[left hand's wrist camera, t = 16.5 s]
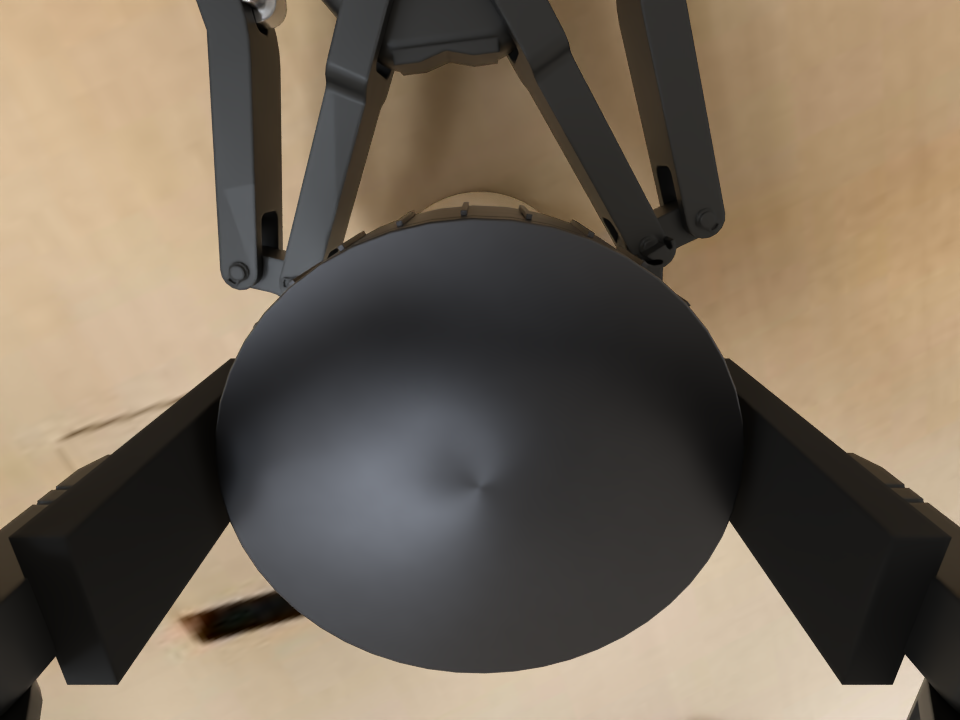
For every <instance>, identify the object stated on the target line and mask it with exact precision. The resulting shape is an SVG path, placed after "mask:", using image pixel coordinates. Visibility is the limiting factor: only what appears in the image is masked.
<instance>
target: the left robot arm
mask: <svg viewBox="0 0 960 720" xmlns="http://www.w3.org/2000/svg"><path fill="white" fill-rule="evenodd" d="M234 361H235V359H230V360H228V361H227V362H226V363H225V364H223V365H222V366H221V367H220V368H218V369H217V370H216V371H215V372H213V373H212V374H211V375H210V376H208V377H207V378H206V379H205V380H203V381H202V382H201V383H200V384H198V385H197V386H196V387H195V388H193V389H192V390H191V391H190V392H188V393H187V394H186V395H185V396H184V397H182V398H181V399H180V400H179V401H177V402H176V403H175V404H174V405H172V406H171V407H170V408H169V409H167V410H166V411H165V412H164V413H162V414H161V415H160V416H159V417H157V418H156V419H155V420H154V421H152V422H151V423H150V424H149V425H147V426H146V427H145V428H144V429H142V430H141V431H140V432H139V433H138V434H136V435H135V436H134V437H133V438H131V439H130V440H129V441H128V442H126V443H125V444H124V445H123V446H121V447H120V448H119V449H118V450H116V451H115V452H114V453H113V454H111V455H106V456H104V457H102V458H100V459H98V460H96V461H94V462H92V463H90V464H88V465H86V466H84V467H82V468H80V469H78V470H77V471H76V472H74V473H73V474H72V475H70V476H69V477H68V478H67V479H65V480H64V481H63V482H61V483H60V484H59V485H58V486H56V490H51V491H50V492H49V493H47V494H46V495H45V496H43V497H42V498H41V499H40V500H38V503H37V505H32V506H30V507H29V508H28V509H27V510H25V511H24V512H23V513H21V514H20V515H19V516H18V517H16V518H15V519H14V520H12V521H11V522H10V523H9V524H7V525H6V526H5V527H3V528H2V529H1V530H0V720H40V715H41V708H42V695H41V690H40V687H39V685H38V683H37V680H36V679H37V678H38V677H39V675H40V674H41V673H42V672H43V671H44V669H45V668H46V667H47V666H48V665H49V664H50V662H51V661H52V660H53V659H54V658H55V657H56V658H57V660H58V663H59V665H60V668H61V670H62V673H63V675H64V678H65V680H66V683H67V685H118V684H119V682H120V681H121V679H122V678H123V676H124V675H125V674H126V672H127V671H128V669H129V668H130V666H131V665H132V663H133V662H134V660H135V659H136V658H137V656H138V655H139V653H140V652H141V650H142V649H143V647H144V646H145V644H146V643H147V642H148V640H149V639H150V637H151V636H152V634H153V633H154V631H155V630H156V628H157V627H158V626H159V624H160V623H161V621H162V620H163V618H164V617H165V615H166V614H167V612H168V611H169V610H170V608H171V607H172V605H173V604H174V602H175V601H176V599H177V598H178V596H179V595H180V594H181V592H182V591H183V589H184V588H185V586H186V585H187V583H188V582H189V580H190V579H191V578H192V576H193V575H194V573H195V572H196V570H197V569H198V567H199V566H200V564H201V563H202V562H203V560H204V559H205V557H206V556H207V554H208V553H209V551H210V550H211V548H212V547H213V546H214V544H215V543H216V541H217V540H218V538H219V537H220V535H221V534H222V532H223V531H224V530H225V528H226V527H227V525H228V524H229V522H230V520H229V517H228V514H227V511H226V508H225V505H224V502H223V498H222V495H221V492H220V486H219V480H218V474H217V468H216V440H215V432H216V425H217V418H218V412H219V405H220V400H221V397H222V393H223V390H224V387H225V384H226V381H227V377H228V374H229V371H230V369H231V367H232V365H233V363H234ZM725 362H726V364H727V367H728V370H729V372H730V375H731V377H732V380H733V383H734V385H735V388H736V391H737V396H738V401H739V406H740V410H741V415H742V420H743V438H744V458H743V467H742V477H741V483H740V487H739V491H738V495H737V499H736V503H735V506H734V510H733V512H732V515H731V517H730V520H729V521H730V522H731V524H732V525H733V527H734V528H735V530H736V531H737V532H738V534H739V535H740V537H741V538H742V540H743V541H744V543H745V544H746V546H747V547H748V548H749V550H750V551H751V553H752V554H753V556H754V557H755V559H756V560H757V562H758V563H759V564H760V566H761V567H762V569H763V570H764V572H765V573H766V575H767V576H768V578H769V579H770V580H771V582H772V583H773V585H774V586H775V588H776V589H777V591H778V592H779V594H780V595H781V596H782V598H783V599H784V601H785V602H786V604H787V605H788V607H789V608H790V610H791V611H792V612H793V614H794V615H795V617H796V618H797V620H798V621H799V623H800V624H801V626H802V627H803V628H804V630H805V631H806V633H807V634H808V636H809V637H810V639H811V640H812V642H813V643H814V644H815V646H816V647H817V649H818V650H819V652H820V653H821V655H822V656H823V657H824V659H825V660H826V662H827V663H828V665H829V666H830V668H831V669H832V671H833V672H834V673H835V675H836V676H837V678H838V679H839V681H840V682H841V684H842V685H893V683H894V680H895V678H896V675H897V673H898V670H899V668H900V665H901V663H902V660H903V658H904V655H906V656H907V657H908V658H909V659H910V661H911V662H912V663H913V664H914V665H915V666H916V668H917V669H918V670H919V671H920V672H921V673H922V675H923V676H924V677H925V678H924V680H923V683H922V685H921V687H920V690H919V692H918V694H917V697H916V699H915V701H914V704H913V706H912V708H911V711H910V713H909V715H908V718H907V720H960V527H959V526H958V525H956V524H955V523H954V522H952V521H951V520H950V519H949V518H947V517H946V516H945V515H943V514H942V513H941V512H939V511H938V510H937V509H936V508H934V507H933V506H932V505H930V504H929V503H924V502H923V498H921V497H920V496H919V495H917V494H916V493H915V492H913V491H912V490H911V489H910V488H905V486H904V484H903V483H902V482H900V481H899V480H898V479H897V478H895V477H894V476H893V475H891V474H890V473H889V472H887V471H886V470H885V469H884V468H882V467H880V466H878V465H876V464H874V463H872V462H870V461H868V460H866V459H864V458H862V457H860V456H858V455H856V454H854V453H846V452H845V451H844V450H842V449H841V448H840V447H839V446H837V445H836V444H835V443H834V442H832V441H831V440H830V439H829V438H827V437H826V436H825V435H824V434H823V433H821V432H820V431H819V430H818V429H816V428H815V427H814V426H813V425H811V424H810V423H809V422H808V421H806V420H805V419H804V418H803V417H801V416H800V415H799V414H798V413H796V412H795V411H794V410H793V409H791V408H790V407H789V406H788V405H786V404H785V403H784V402H783V401H781V400H780V399H779V398H778V397H776V396H775V395H774V394H773V393H772V392H770V391H769V390H768V389H767V388H765V387H764V386H763V385H762V384H760V383H759V382H758V381H757V380H755V379H754V378H753V377H752V376H750V375H749V374H748V373H747V372H745V371H744V370H743V369H742V368H740V367H739V366H738V365H737V364H735V363H734V362H733V361H732V360H730V359H725Z"/></svg>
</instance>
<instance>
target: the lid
mask: <svg viewBox="0 0 960 720" xmlns="http://www.w3.org/2000/svg"><path fill="white" fill-rule="evenodd" d="M594 234H595V233H593V232H592V231H590V230H589V229H587V228H586V227H584V226H583V225H581V224H580V223H578V222H577V221H574V220H572V221H571V223H569V222H566V221H563V220H560V219H557V218H554V217H550V216H547V215H544V214H541V213H538V212H533V211H529V210H528V209H527V208H526V207H525V206H524V205H519V208H518V209H516V208H510V207H501V206H477V205H472V206H469V202H464V203H463V205H462V206H461V207H451V208H440V209H436V210H432V211H428V212H423V213H419V214H415V212H414V211H410V212H408V213H407V214H406V215H404V216H403V217H402V218H400V219H399V220H397V221H394V222H392V223H389V224H387V225H384V226H382V227H379V228H377V229H375V230H374V231H372V232H370V233H368V234H365V232H364V231H362V232H361V233H359V234H357V235H356V236H354V237H352V238H351V239H349V240H348V241H346V242H344V243H343V244H341V245H340V246H338V247H337V248H338V249H339V251H338V252H337V253H335V254H334V255H332V256H331V257H329V258H328V259H326V260H325V261H323V262H322V261H321V262H319V263H318V264H316V265H315V266H313V267H311V268H310V269H308V270H307V271H305V272H304V273H302V274H301V275H299V276H298V277H296V278H294V279H293V280H292V281H291V282H290V283H289V284H290V285H291V286H290V287H289V288H288V289H287V290H286V291H285V292H284V293H283V294H282V295H281V296H280V297H279V298H278V299H277V300H276V301H275V302H274V303H273V304H272V305H271V306H270V308H269V309H268V310H267V311H266V312H265V313H264V314H263V315H262V317H261V318H260V320H259V321H258V322H257V323H255V325H254V327H253V330H252V331H251V332H250V334H249V335H248V337H247V338H246V339H245V341H244V343H243V345H242V347H241V349H240V351H239V353H238V355H237V357H236V359H235V361H234V363H233V365H232V367H231V369H230V371H229V374H228V377H227V381H226V384H225V387H224V390H223V393H222V397H221V400H220V405H219V412H218V418H217V425H216V432H215V440H216V468H217V474H218V480H219V486H220V492H221V495H222V498H223V502H224V505H225V508H226V511H227V514H228V517H229V520H230V522H231V524H232V526H233V528H234V531H235V533H236V535H237V537H238V539H239V541H240V543H241V545H242V547H243V548H244V550H245V551H246V553H247V554H248V556H249V557H250V559H251V560H252V562H253V563H254V565H255V566H256V568H257V569H258V571H259V572H260V573H261V574H262V575H263V577H264V578H265V579H266V580H267V581H268V582H269V584H270V585H271V586H272V587H273V588H274V589H275V591H276V592H277V593H278V594H280V595H281V596H282V597H283V598H284V599H285V600H286V601H287V602H288V603H289V604H290V605H292V606H293V607H294V608H295V609H296V610H297V611H298V612H300V613H301V614H302V615H304V616H305V617H307V618H308V619H309V620H311V621H312V622H313V623H315V624H316V625H318V626H319V627H320V628H322V629H324V630H325V631H327V632H329V633H331V634H332V635H334V636H336V637H338V638H339V639H341V640H343V641H345V642H347V643H349V644H351V645H353V646H356V647H358V648H360V649H362V650H365V651H367V652H369V653H372V654H374V655H377V656H381V657H384V658H387V659H390V660H393V661H396V662H399V663H403V664H408V665H412V666H417V667H421V668H426V669H432V670H440V671H448V672H457V673H498V672H513V671H520V670H526V669H532V668H539V667H544V666H548V665H552V664H555V663H559V662H563V661H567V660H571V659H573V658H576V657H579V656H582V655H584V654H587V653H590V652H592V651H595V650H598V649H600V648H602V647H604V646H606V645H608V644H610V643H612V642H614V641H616V640H618V639H620V638H622V637H624V636H626V635H627V634H629V633H630V632H632V631H634V630H635V629H637V628H638V627H640V626H642V625H643V624H645V623H646V622H648V621H649V620H650V619H652V618H653V617H654V616H655V615H657V614H658V613H659V612H661V611H662V610H663V609H664V608H666V607H667V606H668V605H669V604H670V603H671V602H672V601H673V600H674V599H675V598H676V597H677V596H678V595H679V594H680V593H681V592H682V591H683V590H684V589H685V588H686V587H687V586H688V585H689V584H690V583H691V582H692V581H693V580H694V578H695V577H696V576H697V574H698V573H699V572H700V571H701V569H702V568H703V567H704V565H705V564H706V563H707V562H708V560H709V558H710V557H711V555H712V553H713V552H714V550H715V548H716V546H717V545H718V543H719V541H720V540H721V538H722V536H723V534H724V532H725V529H726V527H727V524H728V522H729V520H730V517H731V515H732V512H733V510H734V506H735V503H736V499H737V495H738V491H739V487H740V483H741V477H742V467H743V458H744V438H743V420H742V415H741V410H740V406H739V401H738V396H737V391H736V388H735V385H734V383H733V380H732V377H731V375H730V372H729V370H728V367H727V364H726V362H725V359H724V357H723V356H722V354H721V352H720V350H719V349H718V347H717V345H716V343H715V342H714V340H713V338H712V337H711V335H710V333H709V331H708V330H707V328H706V327H705V326H704V325H703V323H702V322H701V321H700V320H699V318H698V317H697V316H696V315H695V313H694V312H693V311H692V310H691V309H690V307H689V306H690V304H689V303H688V302H687V301H686V300H684V299H683V298H682V297H680V296H679V295H677V294H676V293H675V292H674V291H673V290H672V289H670V288H669V287H668V286H667V285H666V284H665V283H664V282H663V281H662V280H661V279H660V278H658V277H657V276H655V275H654V274H652V273H651V272H650V271H648V270H647V269H645V268H646V267H647V266H648V264H647V263H646V262H644V261H643V260H641V259H640V258H638V257H636V256H635V255H633V254H632V253H630V252H628V251H627V250H625V249H624V248H622V247H620V246H618V247H617V248H616V249H615V248H614V247H612V246H611V245H609V244H608V243H606V242H605V241H603V240H602V239H600V238H599V237H597V236H595V235H594Z"/></svg>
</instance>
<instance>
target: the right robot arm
mask: <svg viewBox="0 0 960 720" xmlns="http://www.w3.org/2000/svg"><path fill="white" fill-rule="evenodd" d="M196 1H197V4H198V7H199V10H200V12H201V15H202V18H203V21H204V24H205V26H206V29H207V42H208V59H209V77H210V95H211V113H212V130H213V148H214V166H215V184H216V201H217V219H218V237H219V255H220V271H221V275H222V278H223V279H224V280H225V282H226V283H227V284H228V285H229V286H231V287H232V288H235V289H238V290H246V289H248V288H254V289H258V290H263V291H267V292H271V293H274V294H277V295H278V296H281V295H282V294H283V293H284V292H285V291H286V290H287V289H288V288H289V287H290V286H291V285H290V284H289V283H290V282H291V281H292V280H293V279H294V278H296V277H298V276H299V275H301V274H302V273H304V272H305V271H307V270H308V269H310V268H311V267H313V266H315V265H316V264H318V263H319V262H321V261H322V262H323V261H325V260H326V259H328V258H329V257H331V256H332V255H334V254H335V253H337V252H338V251H339V249H338V248H337V247H338V246H340V245H341V244H343V241H344V237H345V234H346V230H347V227H348V223H349V219H350V216H351V212H352V209H353V205H354V202H355V198H356V194H357V191H358V187H359V184H360V180H361V177H362V173H363V169H364V166H365V162H366V159H367V155H368V152H369V148H370V144H371V141H372V137H373V134H374V130H375V127H376V123H377V120H378V116H379V112H380V109H381V107H382V105H383V104H384V102H385V100H386V97H387V94H388V91H389V87H390V84H391V80H392V77H393V73H394V71H398V72H401V73H402V74H403V75H411V74H419V73H427V72H429V71H431V70H433V69H436V68H438V67H440V66H442V65H444V64H447V63H457V64H463V65H468V66H474V67H475V66H482V65H490V64H498V60H499V59H501V58H503V57H505V56H506V55H507V57H508V59H509V61H510V63H511V64H512V66H513V68H514V70H515V71H516V73H517V75H518V77H519V78H520V80H521V82H522V83H523V84H524V86H525V87H526V88H527V89H528V91H529V92H530V94H531V96H532V98H533V99H534V101H535V103H536V105H537V107H538V108H539V110H540V112H541V114H542V115H543V117H544V119H545V121H546V123H547V124H548V126H549V128H550V130H551V131H552V133H553V135H554V137H555V139H556V140H557V142H558V144H559V146H560V148H561V149H562V151H563V153H564V155H565V156H566V158H567V160H568V162H569V164H570V165H571V167H572V169H573V171H574V172H575V174H576V176H577V178H578V180H579V181H580V183H581V185H582V187H583V189H584V190H585V192H586V194H587V196H588V197H589V199H590V201H591V203H592V205H593V206H594V208H595V210H596V212H597V213H598V215H599V217H600V219H601V221H602V222H603V224H604V226H605V228H606V230H607V231H608V233H609V235H610V237H611V238H612V240H613V242H614V244H615V245H616V247H618V246H620V247H622V248H624V249H625V250H627V251H628V252H630V253H632V254H633V255H635V256H636V257H638V258H640V259H641V260H643V261H644V262H646V263H647V264H648V266H647V267H646V268H645V269H647V270H648V271H650V272H651V273H652V274H654V275H655V276H657V277H658V278H660V279H661V280H662V279H663V267H665V266H666V265H667V264H669V263H670V262H671V261H672V259H673V257H674V255H675V252H676V248H678V247H680V246H682V245H684V244H686V243H688V242H690V241H693V240H695V239H697V238H709V237H711V236H713V235H715V234H717V232H718V231H719V230H720V229H721V228H722V226H723V223H724V221H725V210H724V205H723V200H722V194H721V189H720V183H719V178H718V172H717V167H716V161H715V156H714V150H713V145H712V139H711V134H710V129H709V123H708V118H707V112H706V107H705V101H704V96H703V90H702V85H701V79H700V74H699V69H698V63H697V58H696V52H695V47H694V41H693V36H692V30H691V25H690V19H689V14H688V9H687V3H686V0H616V3H617V13H618V19H619V25H620V29H621V34H622V38H623V43H624V47H625V52H626V56H627V61H628V65H629V69H630V74H631V78H632V83H633V87H634V92H635V96H636V100H637V105H638V109H639V114H640V118H641V123H642V127H643V132H644V136H645V140H646V145H647V149H648V154H649V158H650V163H651V167H652V171H653V176H654V180H655V185H656V189H657V194H658V198H659V203H660V207H658V208H656V209H654V210H653V209H652V208H651V206H650V204H649V202H648V200H647V198H646V196H645V194H644V192H643V190H642V188H641V187H640V185H639V183H638V181H637V179H636V177H635V175H634V173H633V171H632V169H631V167H630V166H629V164H628V162H627V160H626V158H625V156H624V154H623V152H622V150H621V148H620V146H619V144H618V143H617V141H616V139H615V137H614V135H613V133H612V131H611V129H610V127H609V125H608V123H607V122H606V120H605V118H604V116H603V114H602V112H601V110H600V108H599V106H598V104H597V102H596V101H595V99H594V97H593V95H592V93H591V91H590V89H589V87H588V85H587V83H586V81H585V79H584V78H583V76H582V74H581V72H580V70H579V68H578V66H577V64H576V62H575V60H574V58H573V56H572V54H571V51H570V47H569V42H568V40H567V37H566V35H565V32H564V30H563V28H562V26H561V25H560V23H559V21H558V19H557V17H556V15H555V13H554V11H553V9H552V7H551V5H550V3H549V1H548V0H322V1H323V2H324V4H325V5H326V6H327V7H328V8H329V9H330V10H331V12H332V13H333V14H334V15H335V16H336V17H337V21H336V25H335V29H334V33H333V38H332V42H331V46H330V50H329V54H328V58H327V63H326V72H325V75H326V89H325V93H324V97H323V102H322V106H321V110H320V114H319V118H318V122H317V126H316V130H315V135H314V139H313V143H312V147H311V151H310V155H309V159H308V163H307V167H306V172H305V176H304V180H303V184H302V188H301V192H300V196H299V200H298V204H297V209H296V213H295V217H294V221H293V225H292V229H291V233H290V237H289V242H288V246H287V250H286V251H284V250H283V232H282V154H281V76H280V55H279V48H278V42H277V36H276V32H275V29H274V28H275V27H277V26H279V25H280V24H281V23H282V22H283V21H284V19H285V17H286V12H287V4H286V0H196Z"/></svg>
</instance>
